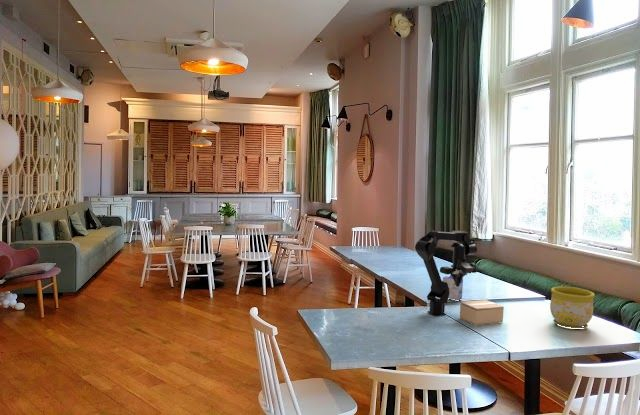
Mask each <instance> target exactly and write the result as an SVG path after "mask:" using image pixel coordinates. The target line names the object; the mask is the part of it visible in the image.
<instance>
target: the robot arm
mask: <svg viewBox="0 0 640 415" xmlns="http://www.w3.org/2000/svg"><path fill="white" fill-rule="evenodd" d="M439 240H442V241H451V242H453V243H452V244H451V245H450V247H451V248H453V251H452V252H453V254H452V256H451V260H452V264H451V265H450V266H441V267H440V268H439V269H438V266H437V264H436V263H437V262H436V261H435V258H434V255H435V249H436V247H437V246H438V242H439ZM414 250H415V252H416V253H417V255H418V256H419V258H421V259H422V260H423V263H424V266H425V268H426V271H427V274H428V277H429V280H430V282H431V285H430V291H429V293H428V294H427V296H426V299H427V301H429V310H428V311H427V314H430V315H431V316H432V315H433V316H435V317H437V316H439V317H440V316H446V315H447V314H446V313H445V308H446V304H447V303H448V301H449V300H448V297H449V293H450V292H449V287H448V284H447V282H443V279H442V278H441V275H440V274H444V275H452V277H453V280H454V282H455V284H456V286H457V287H459V285H460V283H461V280H462V278H463V279H464V277H465V276H467V275H468V274H472V273H473V274H475V273H477V272H478V269H477V267H476V264H475V263H474V262H470V263H469V262H468V259H467V258H466V256H471V255H475V254H477V253H478V248H477V245H476V244H475V241H471V239H470V237H469V234H468V232H467V231H462V230H452V231H449V232H448V231H437V230H430V231H429V232H427V234H425V235H423V236H422V237H421V238H420V239H419V240H418V241H417V242H416V243H415V246H414Z"/></svg>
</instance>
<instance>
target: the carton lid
mask: <svg viewBox="0 0 640 415" xmlns="http://www.w3.org/2000/svg"><path fill="white" fill-rule="evenodd" d="M459 302H460V304H464V305H466V306H469V307H471V308H473V309H476V310H483V309H496V308H504V305H501V304H498V303H496V302H492V301H490V300H488V299H483V300H482V299H481V300H469V301H468V300H465V301H464V300H463V301H459Z"/></svg>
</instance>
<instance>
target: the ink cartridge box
mask: <svg viewBox="0 0 640 415" xmlns="http://www.w3.org/2000/svg"><path fill="white" fill-rule="evenodd" d="M442 281H443V282H447V284H448V287H449V292H450V293H449V297H448V298H450V299H455V300H460V299H462V300H463V290H464V289H463V288H464V286H463V284H464V277H463V278H462V280H461V283H460V285H459V287H457V286H456V284H455V282H454V280H453V277H452V275H451V274H449V276H448V275H446V276H443V277H442Z"/></svg>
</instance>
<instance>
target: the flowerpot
mask: <svg viewBox="0 0 640 415" xmlns="http://www.w3.org/2000/svg"><path fill="white" fill-rule="evenodd" d="M550 291H551V299H550V305H549V309H550V314H551V316H552V317H553V320H552V321H553V323H554V324H555V323H556V324H559V325H561V326H565V327H571V328H585V329H587V328H588V323H589V322H591V320H592V318H593V314H594V298H595V297H596V295H595V294H596V293H594V292H593V291H590V290H588V289H584V288H579V287H573V286H554V287H551V289H550ZM556 324H555V325H556ZM582 326H584V327H582Z"/></svg>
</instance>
